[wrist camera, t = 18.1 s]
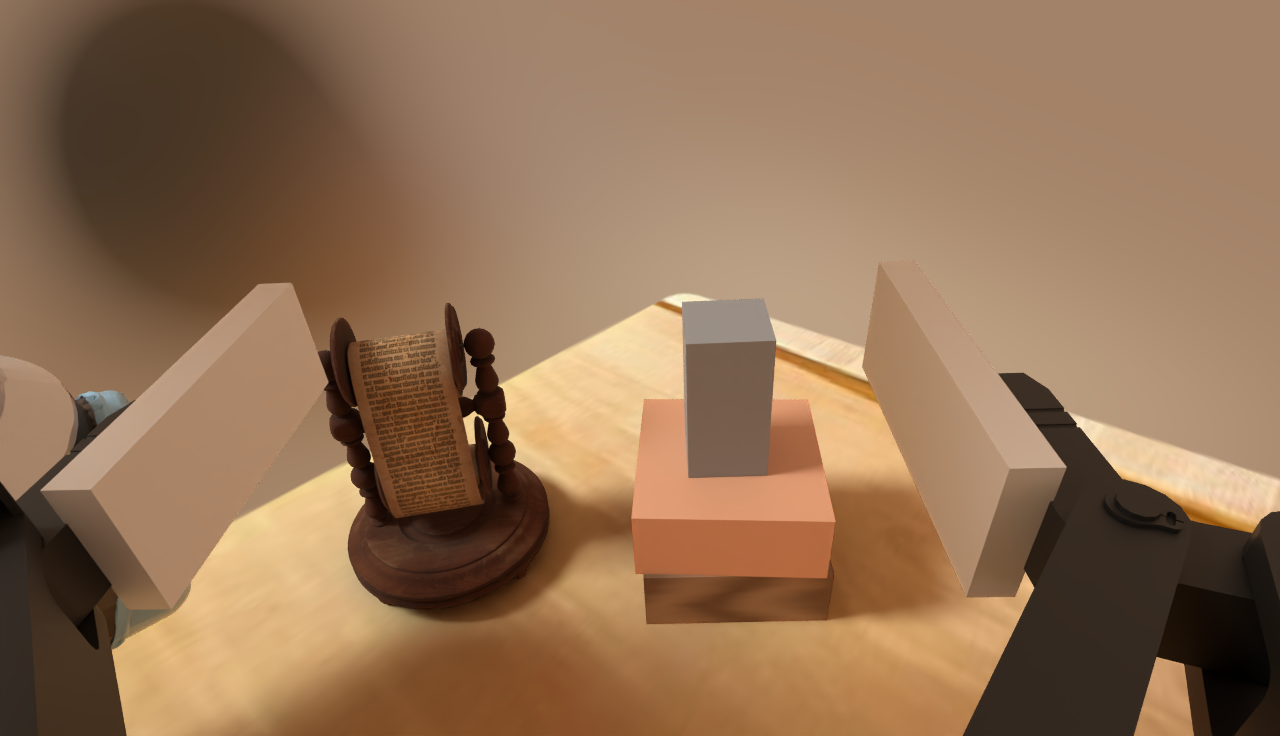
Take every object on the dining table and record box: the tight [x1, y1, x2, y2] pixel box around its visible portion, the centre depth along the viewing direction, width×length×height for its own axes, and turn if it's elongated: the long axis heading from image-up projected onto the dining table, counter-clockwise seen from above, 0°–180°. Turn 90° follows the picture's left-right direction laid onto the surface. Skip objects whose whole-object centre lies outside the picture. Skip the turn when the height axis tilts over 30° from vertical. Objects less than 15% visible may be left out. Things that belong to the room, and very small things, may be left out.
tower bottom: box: [644, 561, 834, 624], centre depth 50 cm, size 12×12×5 cm
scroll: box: [317, 303, 550, 609], centre depth 47 cm, size 15×15×20 cm
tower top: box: [631, 399, 836, 578], centre depth 47 cm, size 12×12×5 cm
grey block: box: [682, 299, 776, 478], centre depth 43 cm, size 5×5×10 cm
